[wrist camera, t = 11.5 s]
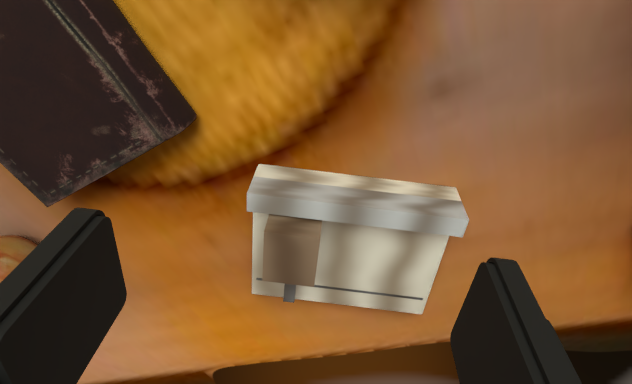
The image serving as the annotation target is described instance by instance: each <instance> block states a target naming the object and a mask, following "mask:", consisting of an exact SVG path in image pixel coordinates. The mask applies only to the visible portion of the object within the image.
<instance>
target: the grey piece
mask: <svg viewBox="0 0 632 384" xmlns="http://www.w3.org/2000/svg"><path fill="white" fill-rule="evenodd" d="M247 211H249V212H253V247H252V294H259V295H267V296H275V297H284V285H285V284H284V283H276V282H267V281H262V274H263V245H264V230H265V226H266V223H267V220H268V216H269V214H273V215H282V216H290V217H298V218H307V219H315V220H322V228H321V238H320V246H319V253H318V261H317V268H316V276H315V284H314V287H308V286H300V285H296V292H295V299H300V300H308V301H316V302H325V303H333V304H341V305H349V306H357V307H365V308H374V309H382V310H390V311H398V312H406V313H415V314H422V313H423V310H424V307H425V304H426V302H427V299H428V296H429V293H430V290H431V287H432V284H433V282H434V279H435V276H436V273H437V270H438V267H439V264H440V261H441V259H442V256H443V253H444V250H445V247H446V244H447V241H448V238H449V236H456V237H463V235H464V232H465V229H466V227H467V224H468V221H469V218H468V216H467V214H466V211H465V209H464V206H463V204H462V201H461V199H460V196H459V194H458V192H457V189H456V187H448V186H440V185H431V184H423V183H414V182H406V181H398V180H389V179H381V178H373V177H364V176H356V175H347V174H339V173H331V172H322V171H314V170H306V169H297V168H289V167H280V166H272V165H264V164H258V167H257V169H256V172H255V174H254V177H253V179H252V182H251V184H250V187H249V189H248V192H247Z"/></svg>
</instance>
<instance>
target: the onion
mask: <svg viewBox="0 0 632 384" xmlns="http://www.w3.org/2000/svg"><path fill="white" fill-rule="evenodd" d="M37 246H38V245H37V244H35V243H34V242H32V241H30V240H28V239H26V238H23V237H21V236H15V235H5V236H0V283H1V282H2V281H3V280H4V279H5V278H6V277H7V276H8V275H9V274H10V273H11V272H12V271H13V270H14V269H15V268H16V267H17V266H18V265H19V264H20V263H21V262H22V261H23V260H24V259H25V258H26V257H27V256H28V255H29V254H30V253H31V252H32V251H33V250H34V249H35V248H36V247H37Z"/></svg>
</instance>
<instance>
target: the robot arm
mask: <svg viewBox="0 0 632 384" xmlns="http://www.w3.org/2000/svg"><path fill="white" fill-rule="evenodd" d="M126 295H127V293H126V287H125V283H124V278H123V273H122V269H121V264H120V260H119V255H118V251H117V246H116V241H115V237H114V232H113V228H112V223H111V220H110V218H109V217H105V214H104V213H103V212H102V211H100V210H94V209H86V208H75V209H74V210H72V211H71V212H70V213H69V214H68V215H67V216H66V217H65V218H64V219H63V220H62V221H61V222H60V223H59V224H58V225H57V226H56V227H55V228H54V229H53V230H52V231H51V232H50V233H49V234H48V235H47V236H46V237H45V238H44V239H43V240H42V241H41V242H40V243H39V245H38V246H37V247H36V248H35V249H34V250H33V251H32V252H31V253H30V254H29V255H28V256H27V257H26V258H25V259H24V260H23V261H22V262H21V263H20V264H19V265H18V266H17V267H16V268H15V269H14V270H13V271H12V272H11V273H10V274H9V275H8V276H7V277H6V278H5V279H4V280H3V281H2V282H1V283H0V384H76V383H77V382H78V380H79V379H80V377H81V375H82V374H83V372H84V370H85V369H86V367H87V365H88V364H89V362H90V360H91V359H92V357H93V355H94V354H95V352H96V350H97V349H98V347H99V346H100V344H101V342H102V341H103V339H104V337H105V336H106V334H107V332H108V331H109V329H110V327H111V326H112V324H113V322H114V321H115V319H116V317H117V316H118V314H119V312H120V311H121V309H122V308H123V306H124V304H125V301H126ZM450 341H451V348H452V352H453V357H454V361H455V364H456V369H457V373H458V377H459V381H460V384H582V383H581V381H580V379H579V377H578V375H577V373H576V371H575V369H574V368H573V366H572V363H571V361H570V360H569V358H568V356H567V354H566V352H565V350H564V348H563V346H562V344H561V342H560V340H559V338H558V336H557V334H556V332H555V330H554V328H553V326H552V325H551V323H550V322H549V321H548V320H547V319H546V318H545V317H544V315H543V313H542V311H541V309H540V307H539V305H538V303H537V301H536V299H535V297H534V295H533V293H532V291H531V289H530V287H529V285H528V283H527V281H526V279H525V277H524V275H523V273H522V271H521V269H520V267H519V265H518V263H517V262H516V261H514V260H508V259H500V258H490V259H488V261H487V263H484V262H483V263H481V264H480V265H479V268H478V270H477V272H476V275H475V277H474V279H473V282H472V284H471V287H470V289H469V291H468V294H467V296H466V298H465V301H464V303H463V306H462V308H461V310H460V313H459V315H458V318H457V320H456V322H455V325H454V327H453V329H452V332H451V339H450Z"/></svg>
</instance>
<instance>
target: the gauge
mask: <svg viewBox="0 0 632 384" xmlns="http://www.w3.org/2000/svg"><path fill="white" fill-rule="evenodd" d="M321 228H322V220H315V219H307V218H298V217H290V216H282V215H273V214H269V216H268V220H267V223H266V226H265V230H264V245H263V274H262V281H267V282H276V283H284V284H285V285H284V298H283V301H285V302H293V303H294V300H295V292H296V285H300V286H308V287H314V284H315V276H316V268H317V261H318V253H319V246H320V238H321Z"/></svg>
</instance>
